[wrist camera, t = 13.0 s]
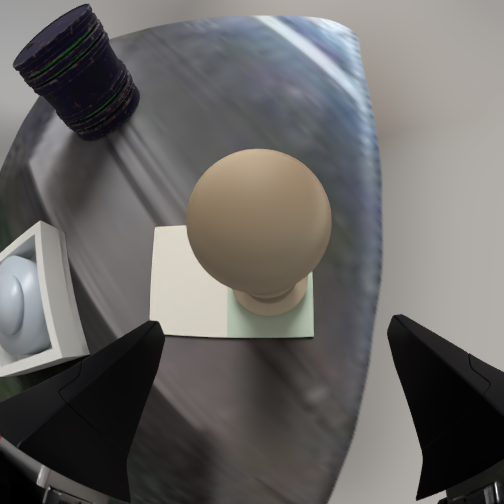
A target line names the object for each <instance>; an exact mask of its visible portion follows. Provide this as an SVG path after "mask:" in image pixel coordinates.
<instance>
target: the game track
mask: <svg viewBox="0 0 504 504" xmlns="http://www.w3.org/2000/svg"><path fill="white" fill-rule="evenodd" d="M150 320H154V321H159V323H160V325H161V327H162V330H163V332H164V334H168V335H182V336H200V337H228V338H287V337H314V322H313V280H312V272H311V273H309V274H308V284H307V288H306V292H305V294H304V296H303V297H302V299H301V301H300V302H299V303H298V304H297V305H296V306H295V307H294V308H292V309H291V310H290V311H288V312H286V313H284V314H281V315H277V316H262V315H258V314H255V313H252V312H250V311H249V310H247V309H246V308H244V307H243V306H242V305H241V304H240V303H239V301H238V300H237V299H236V297H235V295H234V293H233V290H232V289H231V288H229V287H227V286H225V285H223V284H221V283H220V282H218V281H217V280H215V279H214V278H213V277H212V276H211V275H209V274H208V273H207V272H206V271H205V270H204V268H203V267H202V266H201V265H200V263H199V262H198V260H197V259H196V257H195V255H194V253H193V251H192V249H191V246H190V243H189V240H188V236H187V229H186V226H167V227H155V235H154V246H153V259H152V274H151V295H150Z"/></svg>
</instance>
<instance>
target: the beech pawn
mask: <svg viewBox="0 0 504 504" xmlns="http://www.w3.org/2000/svg"><path fill="white" fill-rule="evenodd" d="M186 229H187V236H188V240H189V243H190V246H191V249H192V251H193V253H194V255H195V257H196V259H197V260H198V262H199V263H200V265H201V266H202V267H203V268H204V270H205V271H206V272H207V273H208V274H209V275H211V276H212V277H213V278H214V279H215V280H217V281H218V282H220V283H221V284H223V285H225V286H227V287H229V288H231V289H232V290H233V293H234V295H235V297H236V299H237V300H238V301H239V303H240V304H241V305H242V306H243V307H244V308H246V309H247V310H249V311H250V312H252V313H255V314H258V315H262V316H277V315H281V314H284V313H286V312H288V311H290V310H291V309H292V308H294V307H295V306H296V305H297V304H298V303H299V302H300V301H301V299H302V297H303V296H304V294H305V292H306V288H307V284H308V274H309V273H311V272H312V271H313V269H314V268H315V267H316V266H317V264H318V263H319V261H320V260H321V258H322V257H323V255H324V252H325V250H326V248H327V245H328V242H329V238H330V234H331V210H330V204H329V201H328V198H327V195H326V193H325V191H324V189H323V187H322V185H321V183H320V182H319V180H318V179H317V177H316V176H315V175H314V174H313V173H312V172H311V171H310V170H309V169H308V168H307V167H306V166H305V165H304V164H303V163H301V162H300V161H298V160H297V159H295V158H293V157H291V156H289V155H287V154H284V153H281V152H277V151H273V150H267V149H250V150H244V151H239V152H236V153H233V154H231V155H229V156H226V157H224V158H223V159H221V160H219V161H218V162H216V163H215V164H214V165H213V166H211V167H210V168H209V169H208V170H207V171H206V172H205V173H204V174H203V175H202V177H201V178H200V179H199V181H198V182H197V184H196V186H195V188H194V190H193V192H192V194H191V196H190V199H189V203H188V207H187V213H186Z"/></svg>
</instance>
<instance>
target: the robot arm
mask: <svg viewBox="0 0 504 504" xmlns="http://www.w3.org/2000/svg"><path fill="white" fill-rule="evenodd" d="M387 336H388V340H389V344H390V348H391V352H392V356H393V361H394V364H395V368H396V370H397V373H398V376H399V379H400V382H401V385H402V387H403V390H404V393H405V396H406V399H407V402H408V406H409V409H410V412H411V415H412V418H413V422H414V425H415V428H416V432H417V436H418V439H419V443H420V446H421V450H422V455H423V464H422V471H421V476H420V482H419V486H418V491H417V496H416V501H418V500H421V499H423V498H426V497H429V496H432V495H434V494H437V493H439V492H442V491H444V490H446V494H447V497H446V498H443V499H441V500H439V502H438V504H504V372H502V371H501V370H499V369H497V368H495V367H493V366H491V365H489V364H487V363H485V362H483V361H482V360H480V359H478V358H476V357H475V356H473V355H471V354H470V353H469V354H468V353H467V352H466V351H464V350H462V349H461V348H459V347H457V346H456V345H454V344H452V343H451V342H449V341H447V340H446V339H444V338H442V337H441V336H439V335H437V334H435V333H434V332H432V331H430V330H429V329H427V328H425V327H423V326H422V325H420V324H418V323H417V322H415V321H413V320H411V319H410V318H408V317H406V316H404V315H402V314H400V315H394V316H393V317H392V319H391V322H390V324H389V327H388V330H387ZM164 342H165V335H164V332H163V330H162V327H161V325H160V323H159V321H154V320H149V321H147V322H145V323H144V324H142V325H141V326H139V327H137V328H136V329H134V330H132V331H131V332H129V333H127V334H126V335H124V336H122V337H121V338H119V339H117V340H116V341H114V342H113V343H111V344H109V345H108V346H106V347H104V348H103V349H101V350H99V351H98V352H96V353H94V354H93V355H91V356H89V357H88V358H86V359H84V360H83V361H82V362H79V363H77V364H76V365H74V366H72V367H71V368H69V369H67V370H65V371H63V372H62V373H60V374H58V375H56V376H54V377H52V378H50V379H48V380H46V381H44V382H42V383H40V384H37V385H35V386H33V387H31V388H29V389H27V390H25V391H23V392H21V393H19V394H17V395H15V396H13V397H10V398H8V399H6V400H4V401H2V402H0V436H2V437H1V440H0V504H108V500H109V496H110V497H113V498H116V499H119V500H122V501H125V502H128V503H130V502H131V498H130V491H129V484H128V475H127V457H128V454H129V451H130V448H131V445H132V442H133V439H134V436H135V433H136V430H137V427H138V424H139V421H140V418H141V415H142V412H143V409H144V406H145V404H146V401H147V398H148V395H149V392H150V390H151V387H152V384H153V381H154V379H155V376H156V373H157V370H158V367H159V363H160V359H161V354H162V350H163V346H164Z"/></svg>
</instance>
